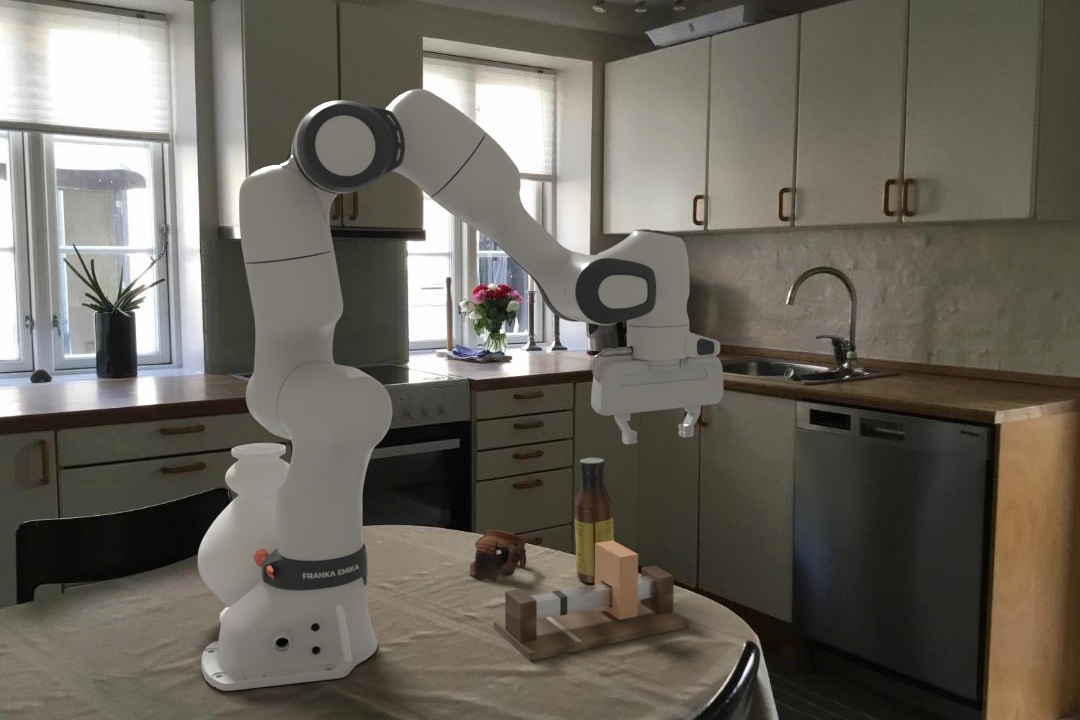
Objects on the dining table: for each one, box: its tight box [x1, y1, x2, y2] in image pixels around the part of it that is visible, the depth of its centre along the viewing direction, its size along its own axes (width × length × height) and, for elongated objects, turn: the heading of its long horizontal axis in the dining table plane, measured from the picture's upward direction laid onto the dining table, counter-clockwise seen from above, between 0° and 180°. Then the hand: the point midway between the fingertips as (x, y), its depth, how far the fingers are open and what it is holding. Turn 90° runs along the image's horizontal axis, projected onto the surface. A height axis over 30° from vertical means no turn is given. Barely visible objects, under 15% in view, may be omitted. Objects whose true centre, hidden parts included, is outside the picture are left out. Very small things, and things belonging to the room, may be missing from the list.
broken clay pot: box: [469, 529, 527, 582], centre depth 154 cm, size 12×10×8 cm
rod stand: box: [493, 564, 690, 662], centre depth 132 cm, size 25×12×6 cm, turn 116°
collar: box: [594, 540, 639, 620], centre depth 133 cm, size 3×7×9 cm, turn 26°
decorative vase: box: [197, 442, 290, 624], centre depth 135 cm, size 18×18×25 cm
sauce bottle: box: [574, 457, 615, 585], centre depth 151 cm, size 7×6×20 cm
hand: (658, 439), depth 134 cm, fingers open, 8 cm apart
